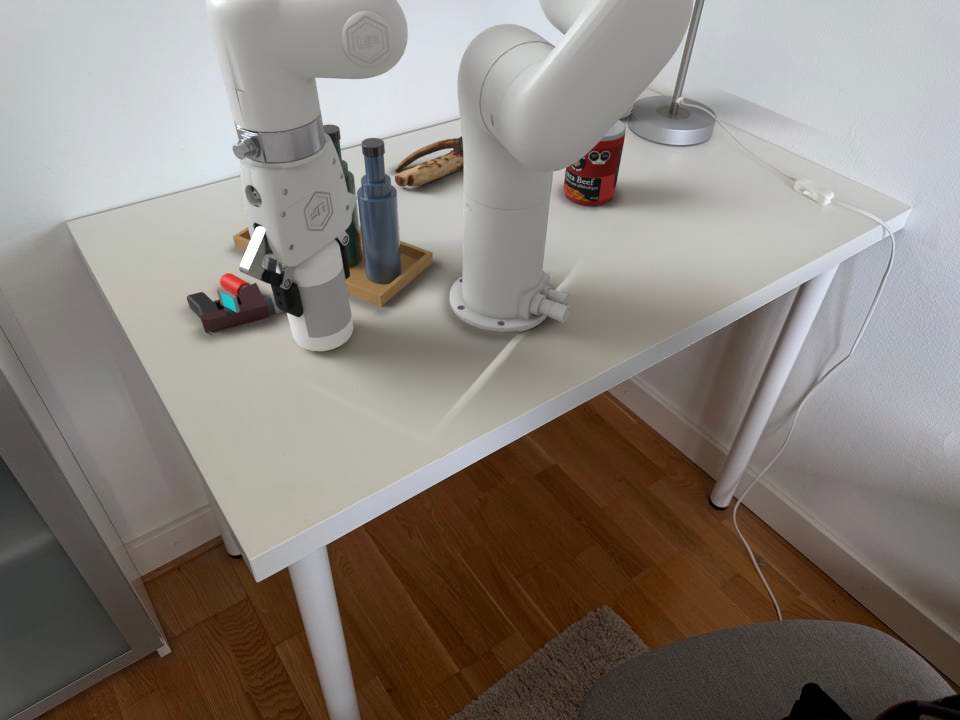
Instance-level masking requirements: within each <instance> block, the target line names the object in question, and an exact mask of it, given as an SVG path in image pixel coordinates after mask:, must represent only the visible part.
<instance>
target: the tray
mask: <svg viewBox="0 0 960 720" xmlns="http://www.w3.org/2000/svg"><path fill="white" fill-rule="evenodd" d="M359 228H360V237H361V246H362V256H363V258H362V261H361V262H360V263H359V264H358V265H356V266H354V267H350V268H349V270H350V277H349V278H348V279H345V280H346V286H347V291H348V294H350V295H352V296H355V297H357V298H359V299H362V300H364V301H366V302H369V303H371V304H373V305H376V306H379V307H383V306H384V305H385V304H386V303H388V302H389V301H390V300H391V299H392V298H394V297H395V296H396V295H397V294H398V293H399V292H400V291H402V290H403V289H404V288H405V287H406V286H408V285H409V284H410V283H411V282H412V281H413V280H414V279H415V278H417V277H418V276H419V275H420V274H421V273H422V272H424V271H425V270H426V269H427V268H429V266H430V265H432V264H433V263H434V258H433V252H432V251H429V250H428V249H425V248H421V247H420V246H419V247H418V246H416V245H413V244H410V243H408V242H405V241H402V240H400V251H401V267H402V274H401V275H400V276H398V277H397V278H396V279H395V280H394V281H392V282H391V283H388V284H377V283H373V282H371V281H369V280H368V279H367V277H366V274H365V264H364V255H363V245H362V236H361V226H360V225H359ZM232 239H233V243H234V246H235V248H238V249H240V250H243V251H245V252H246V250H247V248H248V245H249V243H250V241H251V237H250V233H249V229H248V226H247V227H246V228H244V229H243V230H240V231H239V232H238V233H236V234H234V235H233V236H232ZM264 259H265V257H264Z"/></svg>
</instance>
